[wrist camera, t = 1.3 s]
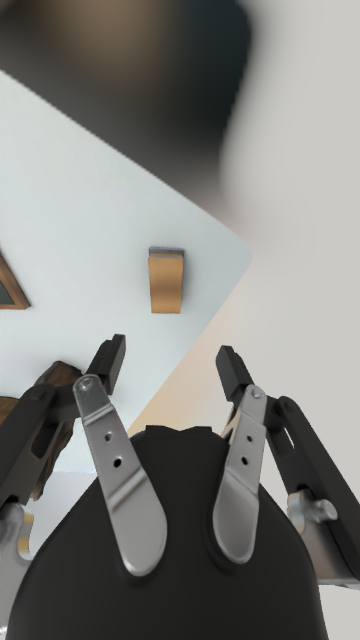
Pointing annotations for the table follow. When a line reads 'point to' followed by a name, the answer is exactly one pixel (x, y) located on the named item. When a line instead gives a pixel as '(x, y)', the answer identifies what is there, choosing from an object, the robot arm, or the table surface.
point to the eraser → (165, 279)
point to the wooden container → (6, 407)
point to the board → (10, 290)
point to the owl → (58, 377)
